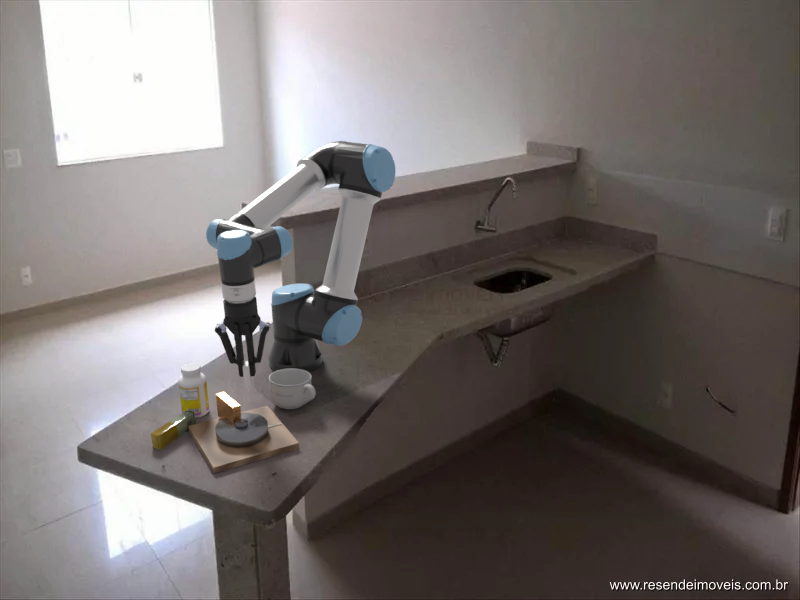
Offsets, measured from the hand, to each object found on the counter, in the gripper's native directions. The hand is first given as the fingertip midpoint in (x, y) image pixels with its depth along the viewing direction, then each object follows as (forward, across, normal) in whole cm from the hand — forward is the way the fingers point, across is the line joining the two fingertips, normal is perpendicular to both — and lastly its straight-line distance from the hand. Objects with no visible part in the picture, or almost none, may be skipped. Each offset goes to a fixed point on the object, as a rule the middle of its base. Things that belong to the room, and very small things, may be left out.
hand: (248, 387), depth 178 cm
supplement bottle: (+9, -15, +4) cm, 18 cm away
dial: (+7, -2, -8) cm, 10 cm away
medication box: (+9, -17, -7) cm, 21 cm away
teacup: (+10, +10, +6) cm, 15 cm away
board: (+9, -1, -9) cm, 13 cm away
